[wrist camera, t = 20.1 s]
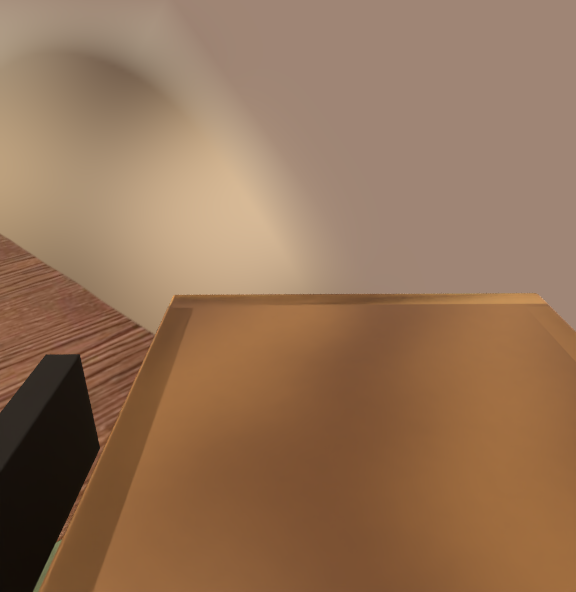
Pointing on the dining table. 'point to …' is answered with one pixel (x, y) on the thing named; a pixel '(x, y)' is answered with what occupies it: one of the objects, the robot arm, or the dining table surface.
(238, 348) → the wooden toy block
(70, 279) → the dining table surface
